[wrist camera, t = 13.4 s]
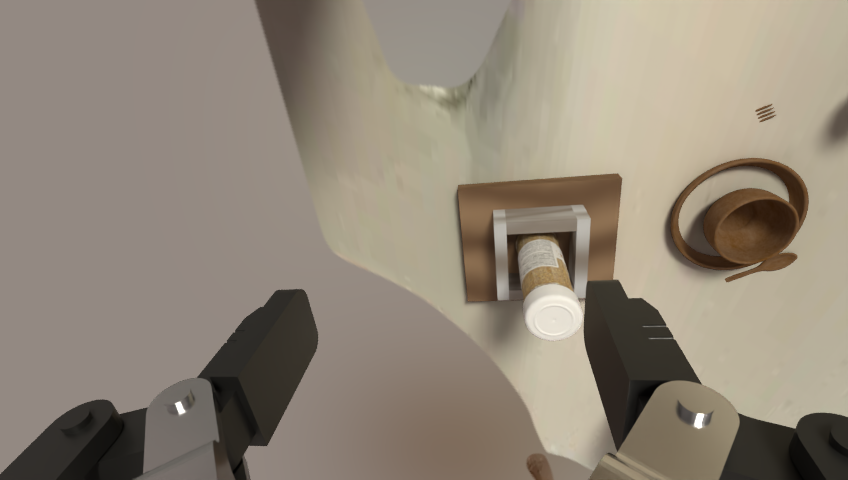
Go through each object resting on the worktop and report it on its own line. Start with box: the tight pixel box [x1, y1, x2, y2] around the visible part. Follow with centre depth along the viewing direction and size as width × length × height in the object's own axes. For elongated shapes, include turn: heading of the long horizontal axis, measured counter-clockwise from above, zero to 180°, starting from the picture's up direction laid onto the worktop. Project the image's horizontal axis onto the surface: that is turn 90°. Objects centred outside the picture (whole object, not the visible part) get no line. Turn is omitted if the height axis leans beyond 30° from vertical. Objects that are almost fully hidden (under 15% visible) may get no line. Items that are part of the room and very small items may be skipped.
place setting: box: [671, 104, 809, 282], centre depth 39 cm, size 18×20×6 cm
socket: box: [458, 174, 622, 301], centre depth 45 cm, size 14×16×5 cm
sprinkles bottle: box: [515, 232, 583, 341], centre depth 39 cm, size 5×5×13 cm
